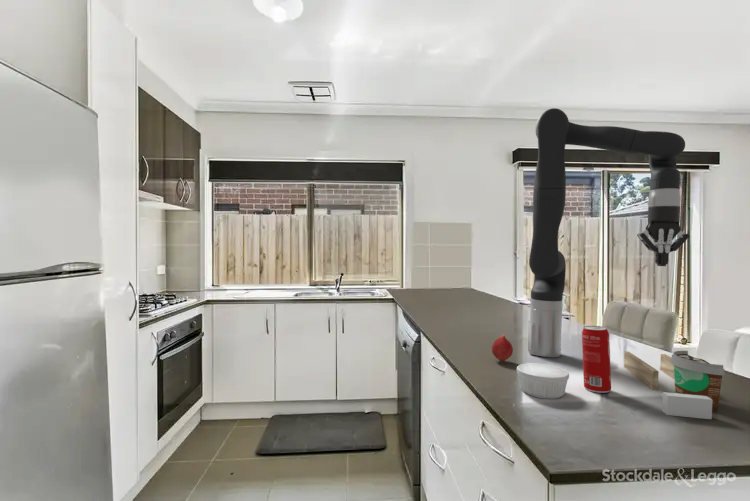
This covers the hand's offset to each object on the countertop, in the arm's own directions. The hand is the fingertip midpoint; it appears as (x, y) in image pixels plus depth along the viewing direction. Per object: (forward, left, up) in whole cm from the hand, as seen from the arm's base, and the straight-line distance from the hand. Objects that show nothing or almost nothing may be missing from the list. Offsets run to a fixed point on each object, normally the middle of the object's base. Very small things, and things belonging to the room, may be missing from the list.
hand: (661, 266), depth 117 cm
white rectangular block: (-10, -37, -29) cm, 48 cm away
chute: (-5, -13, -29) cm, 32 cm away
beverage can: (-24, -26, -29) cm, 46 cm away
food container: (-5, -28, -29) cm, 41 cm away
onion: (-44, -9, -29) cm, 54 cm away
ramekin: (-37, -31, -29) cm, 56 cm away
